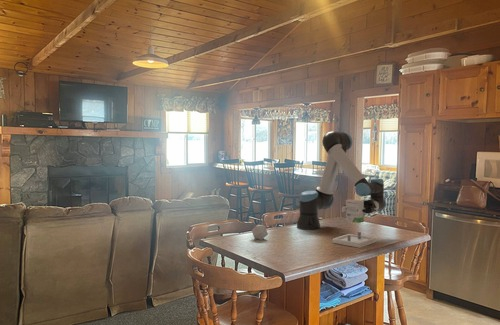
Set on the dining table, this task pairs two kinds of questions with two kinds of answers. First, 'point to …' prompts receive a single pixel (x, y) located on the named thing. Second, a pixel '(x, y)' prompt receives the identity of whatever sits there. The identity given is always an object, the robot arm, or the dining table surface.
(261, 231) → the die
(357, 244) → the pin tray
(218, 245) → the dining table surface
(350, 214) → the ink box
